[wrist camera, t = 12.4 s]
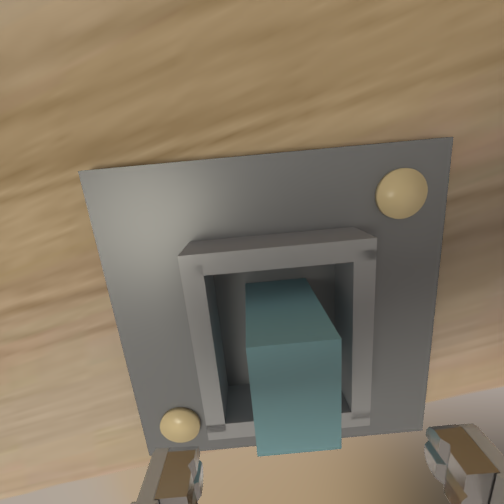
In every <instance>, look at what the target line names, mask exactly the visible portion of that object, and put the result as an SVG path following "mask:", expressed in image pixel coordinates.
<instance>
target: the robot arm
mask: <svg viewBox="0 0 504 504" xmlns="http://www.w3.org/2000/svg"><path fill="white" fill-rule="evenodd" d="M426 436H427V437H428V439H429V441H428V442H427V443H426V444H425V447H424V454H425V458H426V462H427V464H428V466H429V469H430V470H431V472H432V474H433V476H434V477H435V478H436V479H437V480H439V481H440V482H442V483H443V484H444V493H445V495H446V497H447V498H448V500H449V502H450V503H451V504H504V455H503V454H502V453H501V452H500V451H499V450H498V449H497V448H496V446H495V445H494V444H493V443H492V442H491V441H490V440H489V439H488V438H487V437H486V436H485V434H484V433H483V432H482V431H481V430H480V429H479V428H478V427H477V426H476V425H474V424H461V425H446V426H435V427H429V428H428V429H427V431H426ZM199 457H200V450H199V446H190V447H169V448H156V449H155V451H154V452H153V454H152V457H151V460H150V463H149V466H148V469H147V472H146V475H145V478H144V481H143V484H142V487H141V490H140V493H139V496H138V498H137V501H136V502H132V503H131V504H198V503H197V501H198V500H199V498H200V497H201V494H202V487H203V466H202V462H201V461H200V460H199Z"/></svg>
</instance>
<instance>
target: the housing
mask: <svg viewBox="0 0 504 504" xmlns="http://www.w3.org/2000/svg"><path fill="white" fill-rule="evenodd" d="M452 145H453V137H446V138H435V139H424V140H413V141H402V142H391V143H380V144H369V145H358V146H347V147H336V148H325V149H314V150H303V151H292V152H281V153H271V154H260V155H249V156H238V157H227V158H216V159H205V160H194V161H183V162H172V163H161V164H150V165H139V166H128V167H117V168H106V169H95V170H84V171H78V173H79V177H80V181H81V185H82V189H83V193H84V197H85V201H86V205H87V209H88V213H89V217H90V221H91V225H92V229H93V233H94V237H95V241H96V244H97V248H98V252H99V256H100V260H101V264H102V268H103V272H104V276H105V280H106V284H107V288H108V292H109V296H110V300H111V304H112V308H113V312H114V316H115V320H116V324H117V328H118V332H119V336H120V340H121V344H122V348H123V352H124V356H125V360H126V364H127V368H128V372H129V376H130V379H131V383H132V387H133V391H134V395H135V399H136V403H137V407H138V411H139V415H140V419H141V423H142V427H143V431H144V435H145V439H146V443H147V447H148V451H149V455H150V456H152V454H153V452H154V451H155V449H156V448H169V447H190V446H199V450H200V451H206V450H216V449H227V448H237V447H249V446H257V445H256V436H255V427H254V418H253V409H252V400H251V391H250V382H249V373H248V364H247V354H246V307H245V283H256V282H266V281H277V280H288V279H299V278H306V280H307V281H308V283H309V285H310V287H311V288H312V290H313V292H314V293H315V295H316V297H317V298H318V300H319V302H320V303H321V305H322V307H323V308H324V310H325V312H326V314H327V315H328V317H329V319H330V320H331V322H332V324H333V325H334V327H335V329H336V330H337V332H338V334H339V335H340V337H341V339H342V371H341V438H345V437H357V436H367V435H377V434H389V433H400V432H410V431H421V430H422V427H423V418H424V409H425V399H426V390H427V380H428V371H429V362H430V352H431V343H432V333H433V324H434V315H435V305H436V296H437V286H438V277H439V267H440V258H441V249H442V239H443V230H444V220H445V211H446V202H447V192H448V183H449V173H450V164H451V154H452Z"/></svg>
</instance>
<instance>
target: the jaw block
mask: <svg viewBox="0 0 504 504" xmlns="http://www.w3.org/2000/svg"><path fill="white" fill-rule="evenodd" d="M245 307H246V354H247V364H248V373H249V382H250V391H251V400H252V409H253V418H254V427H255V436H256V445H257V454H258V456H269V455H280V454H289V453H300V452H312V451H322V450H333V449H341V371H342V339H341V337H340V335H339V334H338V332H337V330H336V329H335V327H334V325H333V324H332V322H331V320H330V319H329V317H328V315H327V314H326V312H325V310H324V308H323V307H322V305H321V303H320V302H319V300H318V298H317V297H316V295H315V293H314V292H313V290H312V288H311V287H310V285H309V283H308V281H307V280H306V278H299V279H288V280H277V281H266V282H256V283H245Z"/></svg>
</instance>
